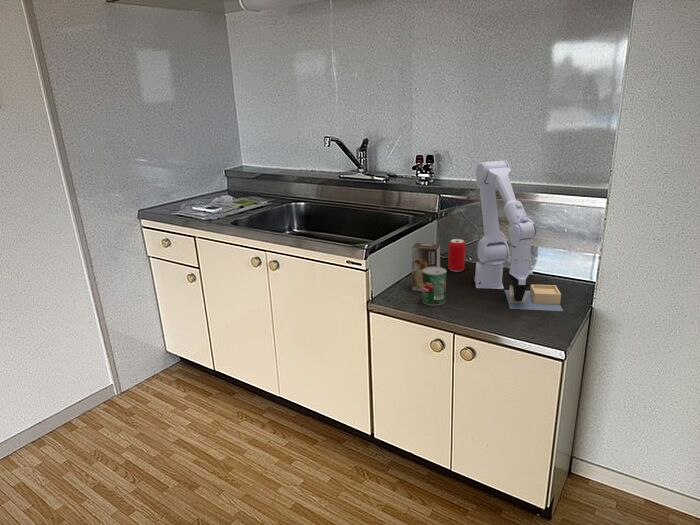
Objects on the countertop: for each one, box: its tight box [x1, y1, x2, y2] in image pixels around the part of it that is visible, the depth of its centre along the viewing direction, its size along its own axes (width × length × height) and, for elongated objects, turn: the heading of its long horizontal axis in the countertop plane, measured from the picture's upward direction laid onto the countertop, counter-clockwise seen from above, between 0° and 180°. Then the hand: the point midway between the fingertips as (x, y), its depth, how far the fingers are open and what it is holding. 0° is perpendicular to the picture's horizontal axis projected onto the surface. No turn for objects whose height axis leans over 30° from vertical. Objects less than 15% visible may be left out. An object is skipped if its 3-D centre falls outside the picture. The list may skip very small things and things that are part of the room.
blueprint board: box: [504, 284, 564, 312], centre depth 161 cm, size 16×16×4 cm
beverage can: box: [447, 238, 466, 273], centre depth 191 cm, size 6×6×12 cm
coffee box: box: [411, 242, 441, 292], centre depth 173 cm, size 9×6×16 cm
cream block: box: [509, 284, 527, 303], centre depth 160 cm, size 4×4×4 cm
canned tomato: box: [421, 266, 448, 307], centre depth 163 cm, size 8×8×11 cm
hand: (517, 297), depth 161 cm, fingers closed on cream block, 4 cm apart
